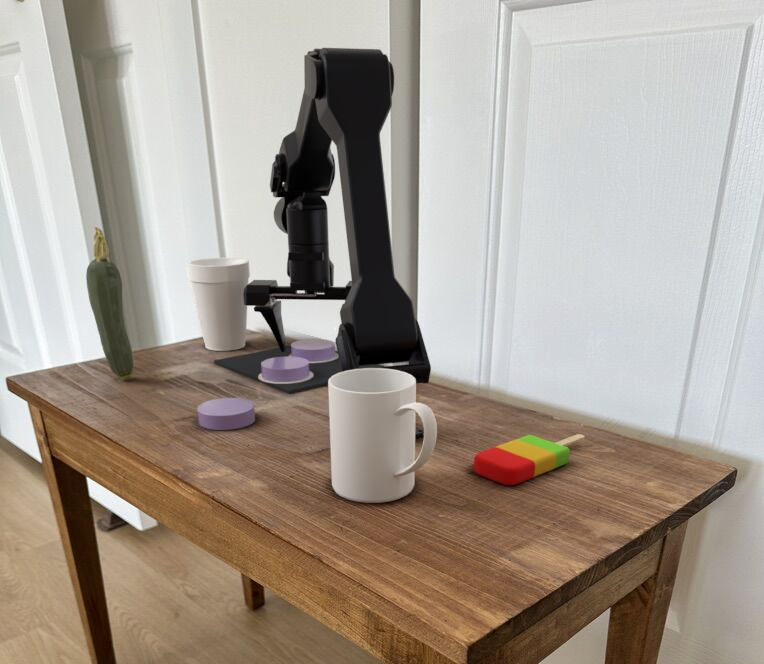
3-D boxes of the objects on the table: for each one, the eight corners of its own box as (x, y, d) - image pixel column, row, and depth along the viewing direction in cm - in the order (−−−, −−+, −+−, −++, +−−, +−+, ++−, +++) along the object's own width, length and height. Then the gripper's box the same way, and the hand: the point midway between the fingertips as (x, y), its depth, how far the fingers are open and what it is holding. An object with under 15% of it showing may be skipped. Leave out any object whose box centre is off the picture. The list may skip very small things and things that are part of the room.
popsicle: (467, 471, 76) (468, 454, 75) (561, 436, 84) (562, 420, 84) (510, 489, 72) (511, 471, 71) (603, 450, 81) (605, 434, 80)
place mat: (388, 370, 109) (388, 366, 109) (287, 394, 99) (287, 390, 99) (307, 344, 123) (307, 341, 122) (212, 363, 113) (211, 360, 112)
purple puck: (344, 356, 114) (343, 344, 113) (308, 364, 110) (307, 351, 109) (318, 348, 118) (318, 336, 118) (282, 355, 115) (282, 343, 114)
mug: (315, 484, 73) (310, 378, 69) (380, 464, 78) (379, 363, 73) (395, 529, 65) (396, 412, 60) (462, 504, 69) (468, 393, 64)
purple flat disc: (266, 421, 89) (264, 407, 89) (216, 434, 86) (214, 419, 85) (237, 408, 94) (235, 394, 93) (188, 419, 90) (186, 405, 89)
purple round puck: (319, 376, 105) (318, 363, 104) (278, 385, 101) (277, 372, 100) (292, 366, 109) (291, 353, 108) (252, 374, 105) (251, 362, 105)
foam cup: (236, 336, 128) (229, 255, 122) (266, 346, 122) (260, 262, 116) (185, 345, 123) (175, 261, 117) (213, 356, 116) (204, 268, 110)
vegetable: (130, 386, 102) (105, 229, 94) (99, 386, 103) (71, 229, 94) (140, 377, 106) (117, 225, 98) (110, 377, 107) (84, 225, 98)
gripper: (379, 236, 114) (379, 340, 121) (256, 235, 115) (264, 338, 122) (371, 245, 104) (373, 358, 111) (238, 245, 105) (247, 356, 112)
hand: (313, 351), depth 114 cm, fingers open, 9 cm apart
